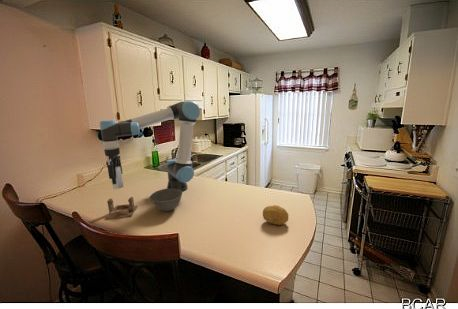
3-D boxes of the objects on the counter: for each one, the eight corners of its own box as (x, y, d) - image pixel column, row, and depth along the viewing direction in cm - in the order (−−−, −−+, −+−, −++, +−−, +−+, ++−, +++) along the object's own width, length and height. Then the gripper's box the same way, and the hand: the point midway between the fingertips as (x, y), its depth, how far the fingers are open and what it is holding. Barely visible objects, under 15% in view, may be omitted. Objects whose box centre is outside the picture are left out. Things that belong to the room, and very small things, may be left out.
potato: (286, 213, 104) (289, 203, 112) (259, 210, 110) (264, 200, 118) (287, 230, 107) (290, 219, 115) (261, 226, 112) (265, 215, 120)
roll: (124, 185, 130) (121, 165, 127) (121, 188, 124) (118, 168, 121) (115, 185, 129) (111, 166, 126) (111, 189, 124) (107, 169, 121)
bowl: (150, 206, 137) (148, 191, 135) (180, 200, 144) (179, 186, 142) (153, 220, 120) (150, 203, 118) (186, 212, 127) (185, 197, 125)
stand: (137, 207, 137) (135, 193, 135) (131, 216, 125) (129, 202, 123) (114, 209, 136) (112, 195, 134) (106, 218, 124) (103, 204, 122)
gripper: (111, 145, 130) (117, 181, 135) (96, 152, 112) (104, 193, 117) (124, 144, 131) (130, 180, 136) (111, 151, 113) (118, 192, 118)
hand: (118, 186), depth 127 cm, fingers closed on roll, 5 cm apart
